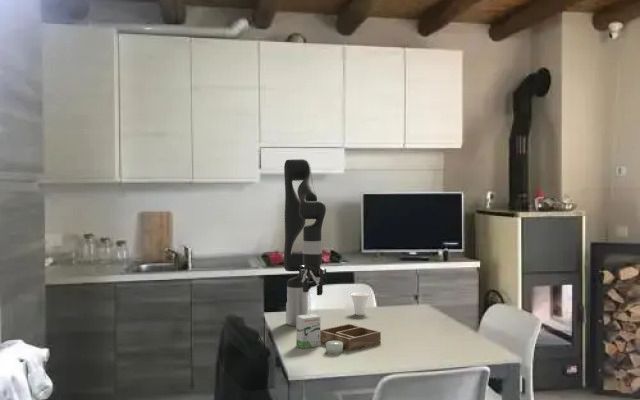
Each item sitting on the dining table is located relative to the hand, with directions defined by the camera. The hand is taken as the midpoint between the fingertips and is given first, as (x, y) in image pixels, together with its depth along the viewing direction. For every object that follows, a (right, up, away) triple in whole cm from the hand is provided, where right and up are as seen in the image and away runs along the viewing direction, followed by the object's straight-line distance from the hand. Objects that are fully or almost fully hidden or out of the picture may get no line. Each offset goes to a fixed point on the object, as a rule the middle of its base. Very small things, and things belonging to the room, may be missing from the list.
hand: (312, 293), depth 225 cm
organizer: (+15, -20, +5) cm, 26 cm away
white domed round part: (+8, -21, -8) cm, 24 cm away
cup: (+23, -19, +56) cm, 64 cm away
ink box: (-2, -21, 0) cm, 21 cm away
